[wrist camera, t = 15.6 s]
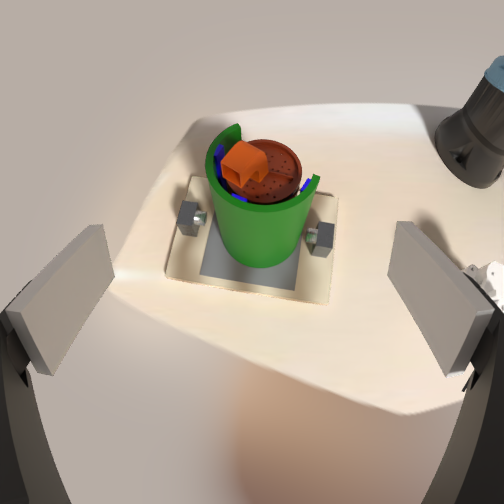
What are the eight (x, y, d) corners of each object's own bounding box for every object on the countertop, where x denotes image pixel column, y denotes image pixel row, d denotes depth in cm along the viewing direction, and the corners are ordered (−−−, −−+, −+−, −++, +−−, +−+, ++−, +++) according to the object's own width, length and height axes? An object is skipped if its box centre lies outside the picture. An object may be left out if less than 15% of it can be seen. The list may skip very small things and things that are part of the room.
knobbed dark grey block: (211, 216, 43) (207, 203, 39) (205, 238, 42) (201, 227, 38) (188, 213, 43) (182, 200, 39) (182, 234, 42) (176, 223, 38)
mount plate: (336, 201, 45) (338, 197, 43) (326, 305, 40) (328, 303, 39) (193, 180, 46) (191, 175, 45) (167, 278, 41) (164, 275, 40)
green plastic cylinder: (307, 222, 42) (341, 121, 23) (279, 281, 40) (301, 211, 21) (238, 192, 44) (228, 83, 25) (207, 248, 41) (170, 158, 22)
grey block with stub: (328, 235, 42) (334, 223, 38) (326, 258, 41) (332, 248, 37) (304, 231, 42) (309, 219, 38) (301, 254, 41) (306, 244, 37)
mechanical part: (463, 371, 36) (516, 369, 25) (408, 329, 39) (456, 316, 27) (490, 307, 39) (540, 290, 28) (440, 264, 41) (486, 236, 30)
